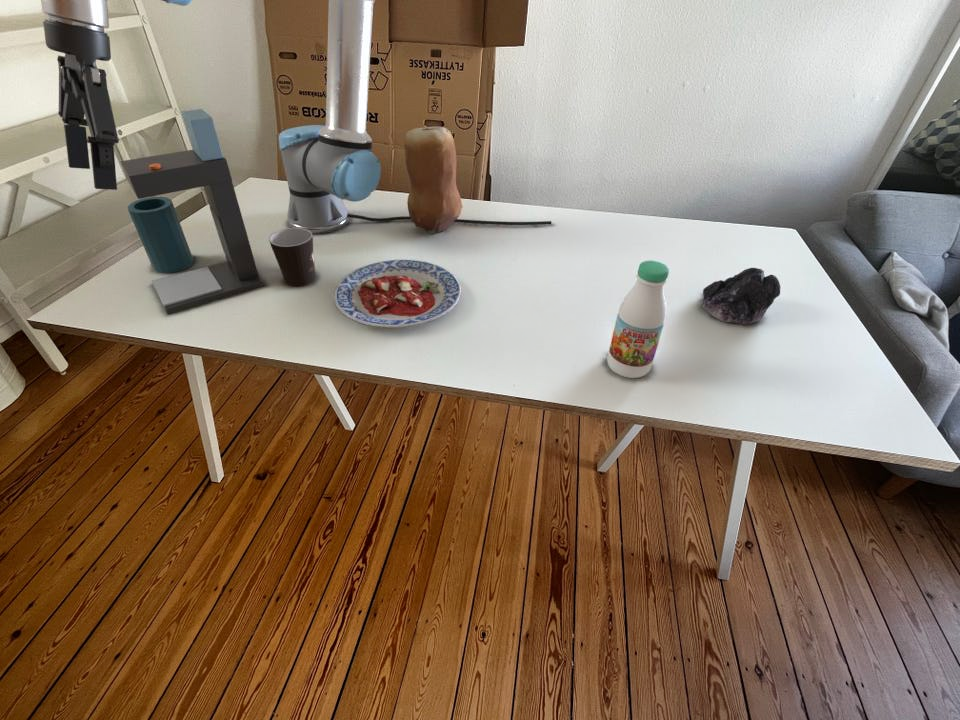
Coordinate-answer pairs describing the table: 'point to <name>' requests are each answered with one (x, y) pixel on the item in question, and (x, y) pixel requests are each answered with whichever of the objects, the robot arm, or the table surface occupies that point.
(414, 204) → the butternut squash
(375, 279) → the ceramic plate
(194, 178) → the coffee maker
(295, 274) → the coffee mug
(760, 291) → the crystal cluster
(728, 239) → the table surface
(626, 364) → the milk bottle
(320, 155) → the robot arm
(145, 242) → the teal tumbler
